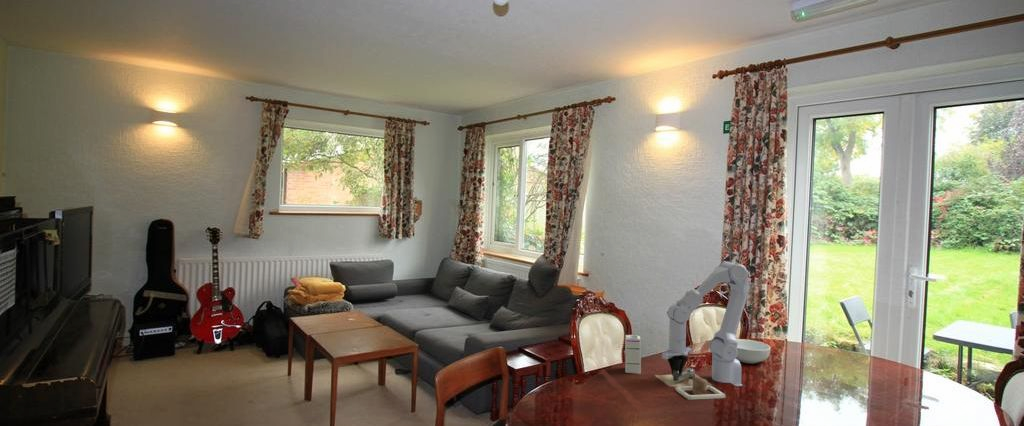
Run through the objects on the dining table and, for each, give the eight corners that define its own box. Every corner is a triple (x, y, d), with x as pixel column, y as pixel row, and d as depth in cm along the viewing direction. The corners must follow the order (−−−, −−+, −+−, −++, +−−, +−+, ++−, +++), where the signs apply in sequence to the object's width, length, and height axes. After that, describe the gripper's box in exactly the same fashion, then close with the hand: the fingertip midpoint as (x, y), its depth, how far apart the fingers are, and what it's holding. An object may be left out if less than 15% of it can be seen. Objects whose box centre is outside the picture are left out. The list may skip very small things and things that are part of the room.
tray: (710, 392, 171) (710, 385, 171) (725, 402, 163) (725, 394, 163) (675, 394, 169) (675, 386, 169) (688, 404, 161) (688, 396, 161)
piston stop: (702, 393, 169) (702, 377, 169) (709, 398, 164) (709, 382, 164) (690, 394, 168) (690, 378, 168) (696, 399, 164) (697, 382, 164)
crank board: (694, 377, 187) (694, 372, 187) (712, 389, 175) (712, 383, 175) (654, 379, 184) (654, 374, 184) (669, 390, 172) (669, 385, 172)
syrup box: (641, 377, 186) (641, 338, 186) (624, 376, 187) (625, 337, 187) (640, 372, 191) (640, 335, 191) (624, 371, 193) (625, 334, 193)
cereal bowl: (717, 357, 214) (717, 341, 214) (744, 353, 221) (744, 337, 221) (751, 369, 198) (751, 351, 198) (779, 364, 205) (779, 347, 205)
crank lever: (688, 374, 184) (688, 362, 184) (696, 376, 182) (696, 365, 182) (670, 381, 175) (670, 370, 175) (678, 384, 173) (679, 372, 173)
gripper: (674, 343, 172) (673, 382, 172) (699, 338, 180) (698, 375, 180) (657, 339, 178) (656, 377, 178) (682, 334, 186) (681, 370, 186)
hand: (676, 376), depth 179 cm, fingers closed
